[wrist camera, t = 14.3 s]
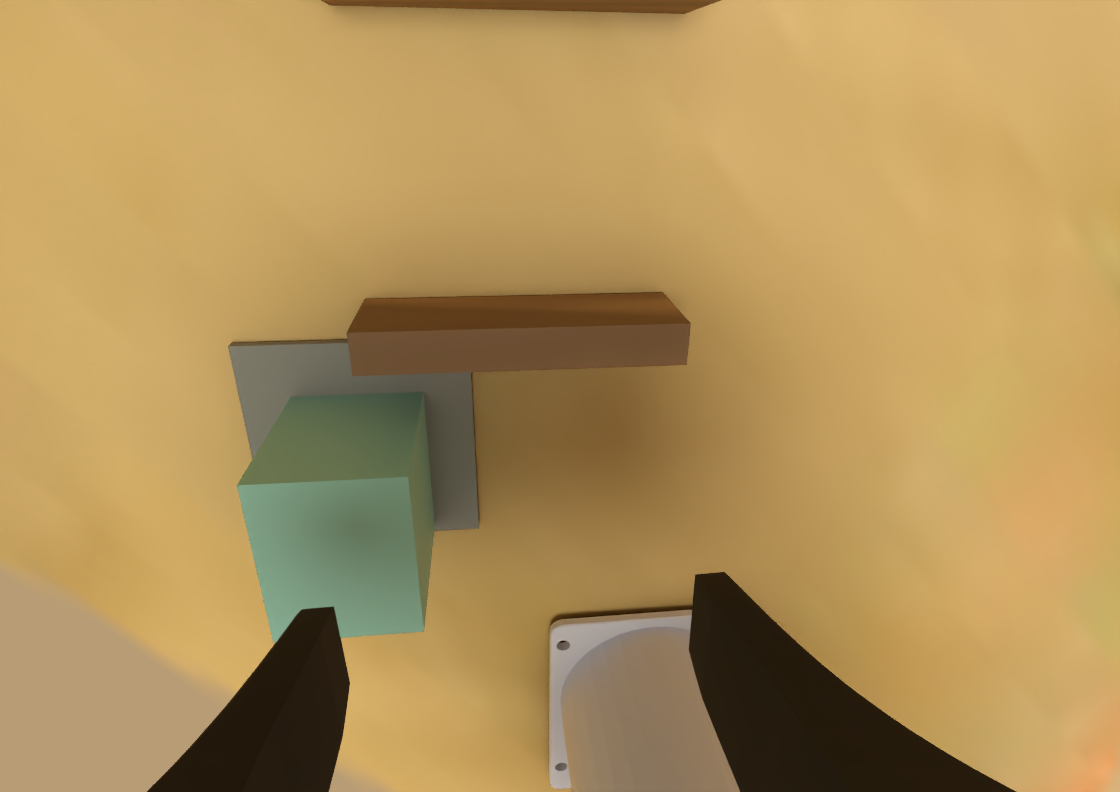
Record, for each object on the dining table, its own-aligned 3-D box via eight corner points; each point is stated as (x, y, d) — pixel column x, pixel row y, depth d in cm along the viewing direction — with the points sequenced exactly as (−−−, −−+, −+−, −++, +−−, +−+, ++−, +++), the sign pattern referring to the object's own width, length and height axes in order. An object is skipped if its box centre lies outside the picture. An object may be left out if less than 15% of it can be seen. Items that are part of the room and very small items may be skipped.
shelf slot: (659, 329, 21) (686, 364, 18) (369, 337, 20) (352, 376, 17) (688, -42, 17) (728, -66, 14) (322, -53, 16) (290, -83, 13)
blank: (423, 391, 21) (408, 477, 16) (434, 523, 23) (423, 631, 18) (290, 396, 20) (236, 485, 16) (315, 530, 22) (273, 642, 18)
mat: (478, 523, 23) (478, 528, 23) (272, 535, 22) (270, 540, 22) (469, 336, 20) (469, 339, 20) (231, 342, 20) (228, 346, 19)
